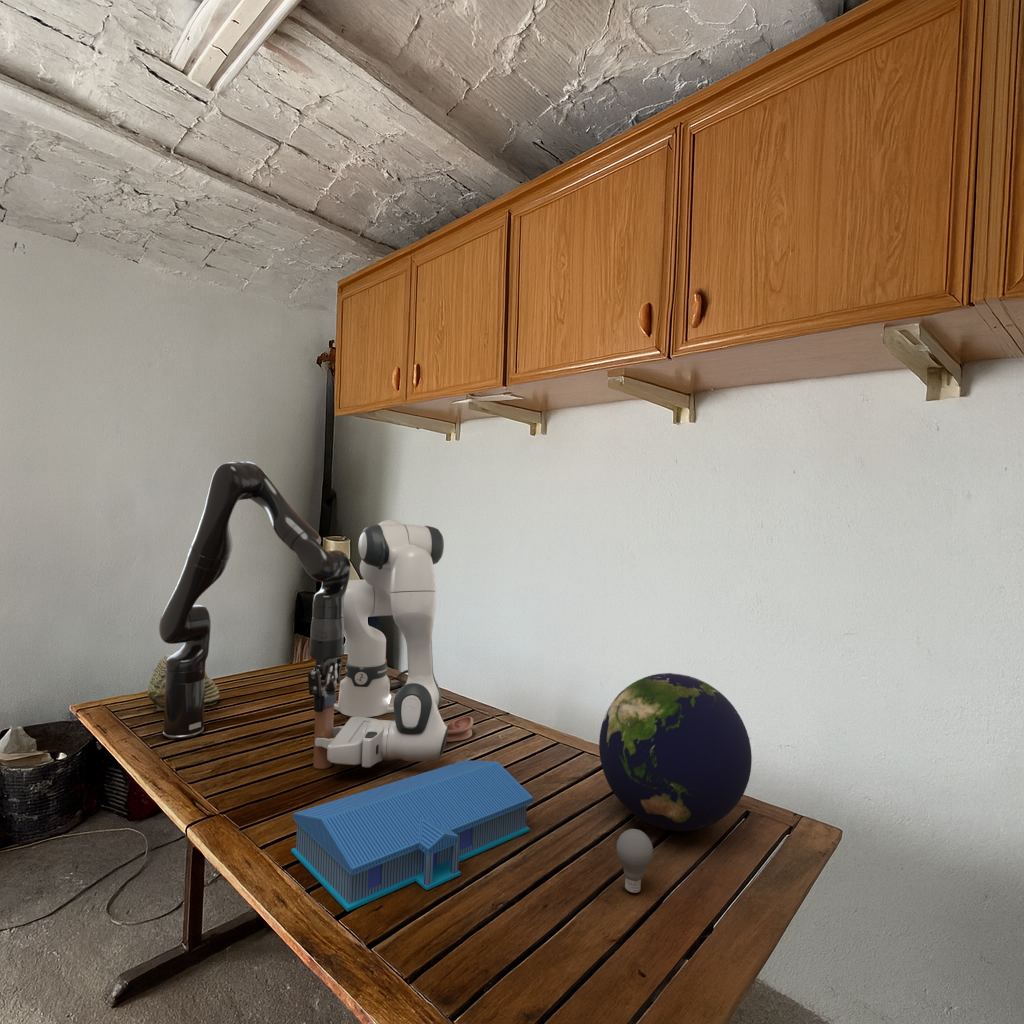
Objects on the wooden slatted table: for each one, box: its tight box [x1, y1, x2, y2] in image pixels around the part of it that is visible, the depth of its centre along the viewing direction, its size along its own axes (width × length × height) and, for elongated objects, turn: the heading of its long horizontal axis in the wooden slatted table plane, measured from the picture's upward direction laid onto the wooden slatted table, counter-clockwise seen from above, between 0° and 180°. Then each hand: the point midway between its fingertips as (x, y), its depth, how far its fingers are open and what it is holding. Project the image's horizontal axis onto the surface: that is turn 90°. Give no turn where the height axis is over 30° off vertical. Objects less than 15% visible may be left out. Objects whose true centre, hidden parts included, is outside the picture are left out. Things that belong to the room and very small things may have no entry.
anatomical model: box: [444, 715, 474, 743], centre depth 171 cm, size 13×4×12 cm
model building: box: [290, 759, 534, 912], centre depth 117 cm, size 39×24×10 cm, turn 132°
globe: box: [598, 672, 753, 832], centre depth 129 cm, size 30×30×30 cm
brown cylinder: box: [312, 705, 335, 770], centre depth 149 cm, size 4×4×16 cm
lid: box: [312, 690, 337, 706], centre depth 149 cm, size 5×5×2 cm
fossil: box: [147, 654, 221, 712], centre depth 185 cm, size 9×18×15 cm, turn 132°
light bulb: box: [615, 828, 654, 894], centre depth 106 cm, size 6×6×10 cm
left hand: (324, 707), depth 149 cm, fingers closed on lid, 5 cm apart
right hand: (319, 736), depth 149 cm, fingers closed on brown cylinder, 4 cm apart
